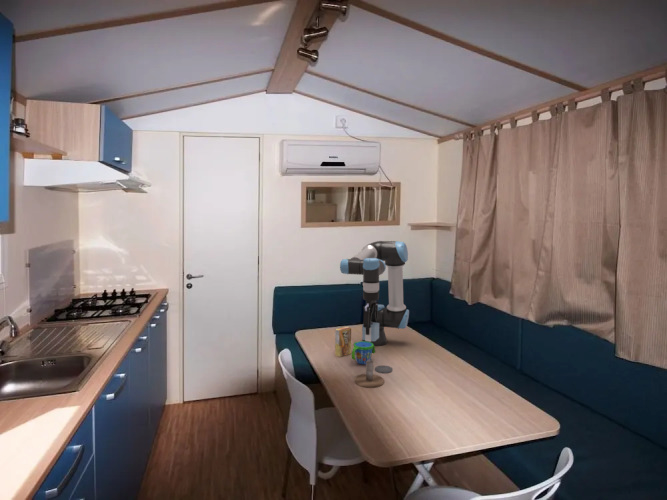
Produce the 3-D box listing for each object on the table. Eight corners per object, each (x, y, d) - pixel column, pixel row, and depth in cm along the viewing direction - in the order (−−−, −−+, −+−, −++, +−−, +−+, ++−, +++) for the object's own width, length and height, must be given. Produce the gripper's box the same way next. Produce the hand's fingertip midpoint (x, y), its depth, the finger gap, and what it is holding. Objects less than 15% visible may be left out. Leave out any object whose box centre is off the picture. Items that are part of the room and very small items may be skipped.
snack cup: (368, 356, 223) (368, 339, 223) (380, 362, 215) (381, 344, 214) (345, 362, 215) (345, 344, 214) (357, 368, 206) (357, 349, 205)
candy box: (346, 351, 231) (346, 326, 230) (351, 353, 228) (351, 327, 227) (334, 355, 226) (334, 328, 224) (339, 357, 222) (339, 330, 221)
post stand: (348, 379, 192) (349, 360, 191) (371, 373, 200) (371, 354, 199) (367, 390, 180) (367, 369, 180) (390, 383, 188) (390, 362, 187)
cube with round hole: (367, 336, 194) (367, 319, 193) (379, 337, 191) (379, 321, 190) (362, 339, 188) (362, 322, 187) (374, 341, 185) (374, 324, 185)
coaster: (371, 369, 206) (371, 367, 205) (384, 365, 211) (384, 364, 210) (382, 374, 198) (382, 373, 198) (396, 370, 203) (396, 369, 203)
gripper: (370, 287, 198) (370, 332, 200) (355, 294, 180) (355, 343, 183) (385, 288, 194) (384, 334, 196) (371, 295, 177) (371, 346, 179)
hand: (370, 338), depth 189 cm, fingers closed on cube with round hole, 6 cm apart
